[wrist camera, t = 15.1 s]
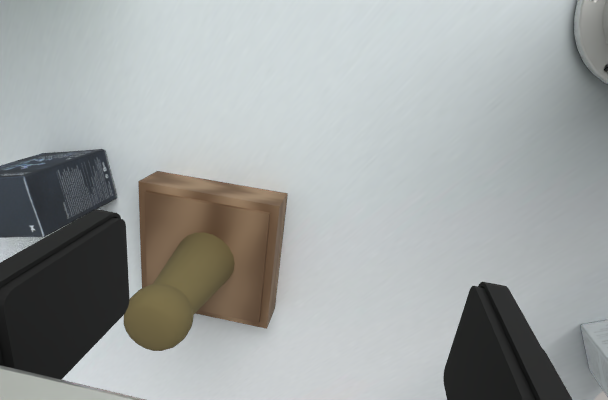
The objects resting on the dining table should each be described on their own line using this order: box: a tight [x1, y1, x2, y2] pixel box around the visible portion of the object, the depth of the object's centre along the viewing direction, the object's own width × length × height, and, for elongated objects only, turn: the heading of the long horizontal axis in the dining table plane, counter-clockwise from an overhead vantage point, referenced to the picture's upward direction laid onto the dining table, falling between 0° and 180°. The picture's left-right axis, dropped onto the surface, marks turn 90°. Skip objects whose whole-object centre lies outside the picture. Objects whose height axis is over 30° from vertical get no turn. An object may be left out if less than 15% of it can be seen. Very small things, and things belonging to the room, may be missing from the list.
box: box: [0, 149, 117, 238], centre depth 39 cm, size 8×6×11 cm
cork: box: [124, 232, 235, 351], centre depth 35 cm, size 6×6×11 cm
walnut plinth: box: [139, 171, 287, 328], centre depth 42 cm, size 14×14×4 cm
